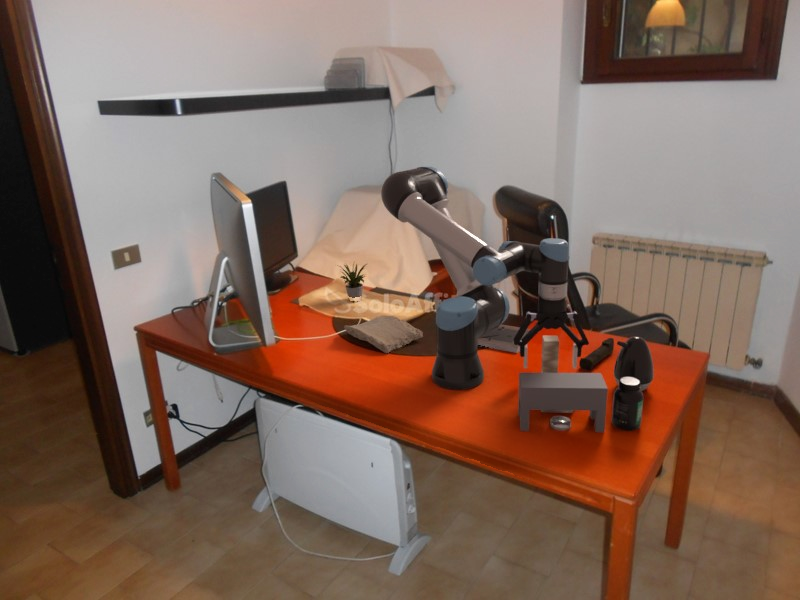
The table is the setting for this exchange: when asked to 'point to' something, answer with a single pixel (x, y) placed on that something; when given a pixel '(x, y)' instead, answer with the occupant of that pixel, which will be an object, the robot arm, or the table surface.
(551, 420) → the steel token
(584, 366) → the hand tool
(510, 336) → the picture frame
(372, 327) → the flat stone slab
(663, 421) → the table surface
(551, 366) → the ash-wood pusher
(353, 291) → the house plant
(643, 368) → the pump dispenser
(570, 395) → the grey step stool
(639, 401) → the supplement bottle
